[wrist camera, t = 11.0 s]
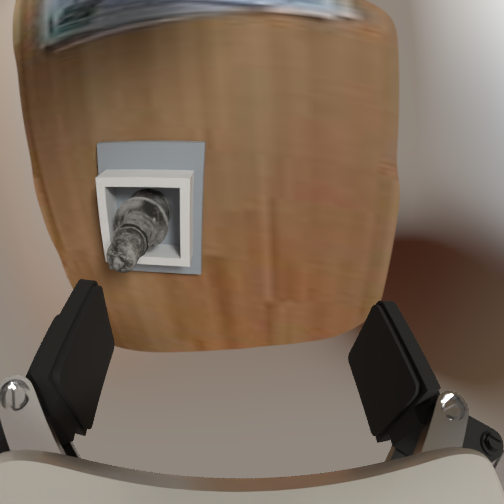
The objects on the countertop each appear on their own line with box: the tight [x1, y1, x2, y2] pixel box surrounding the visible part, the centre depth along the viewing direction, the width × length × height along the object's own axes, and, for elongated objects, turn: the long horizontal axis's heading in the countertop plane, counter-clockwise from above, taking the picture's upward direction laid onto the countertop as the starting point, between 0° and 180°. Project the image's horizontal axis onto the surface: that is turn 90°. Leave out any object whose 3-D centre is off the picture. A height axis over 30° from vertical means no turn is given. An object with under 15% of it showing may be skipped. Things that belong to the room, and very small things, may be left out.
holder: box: [96, 141, 206, 275], centre depth 32 cm, size 16×12×4 cm
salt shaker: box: [106, 188, 172, 273], centre depth 28 cm, size 6×6×12 cm
